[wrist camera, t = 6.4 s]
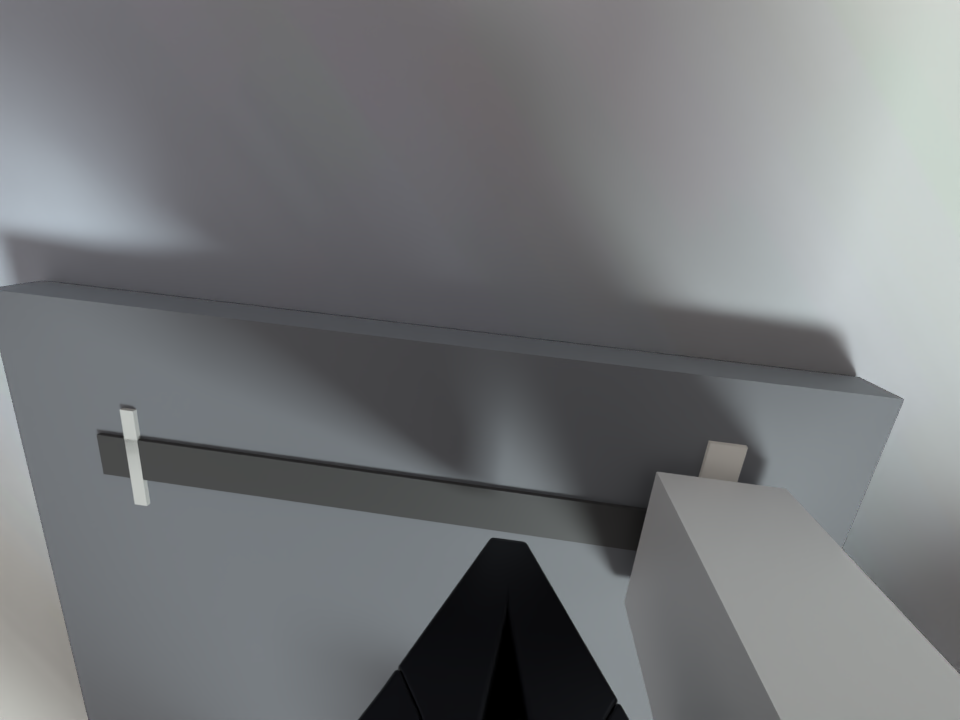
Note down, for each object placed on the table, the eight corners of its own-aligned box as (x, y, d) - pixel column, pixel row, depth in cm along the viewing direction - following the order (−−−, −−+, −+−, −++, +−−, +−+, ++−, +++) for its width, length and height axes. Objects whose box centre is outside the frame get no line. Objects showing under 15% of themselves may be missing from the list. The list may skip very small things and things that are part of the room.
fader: (741, 622, 10) (1000, 1116, 4) (621, 603, 10) (731, 1061, 5) (789, 486, 9) (1202, 919, 3) (654, 468, 9) (846, 855, 4)
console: (665, 890, 15) (677, 950, 14) (145, 792, 16) (113, 840, 15) (859, 377, 10) (908, 401, 8) (43, 280, 11) (-20, 289, 9)
